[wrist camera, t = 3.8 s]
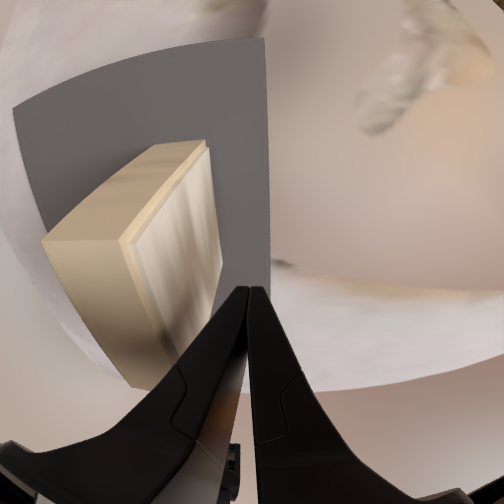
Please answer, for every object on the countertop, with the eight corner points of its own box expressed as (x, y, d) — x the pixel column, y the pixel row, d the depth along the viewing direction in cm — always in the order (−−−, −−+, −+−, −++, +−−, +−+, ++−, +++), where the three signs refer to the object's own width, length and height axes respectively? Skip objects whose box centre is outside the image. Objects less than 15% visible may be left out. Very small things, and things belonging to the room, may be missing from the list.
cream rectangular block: (224, 264, 16) (194, 397, 9) (175, 263, 16) (127, 386, 9) (209, 139, 11) (126, 239, 5) (150, 145, 12) (35, 241, 5)
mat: (270, 329, 20) (270, 336, 19) (95, 315, 21) (92, 320, 20) (264, 39, 9) (263, 37, 9) (18, 106, 10) (12, 108, 10)
